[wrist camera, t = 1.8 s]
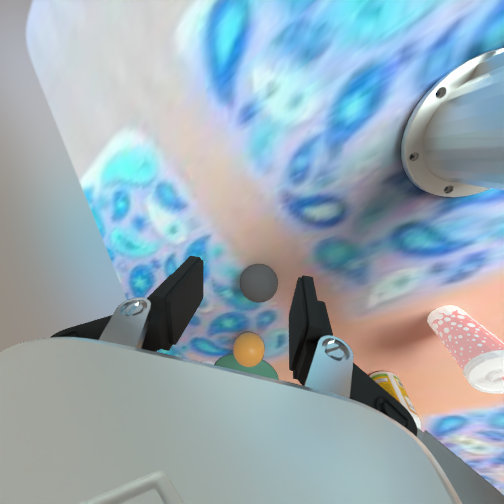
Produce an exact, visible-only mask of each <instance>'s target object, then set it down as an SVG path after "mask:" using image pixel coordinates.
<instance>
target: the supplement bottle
mask: <svg viewBox="0 0 504 504" xmlns="http://www.w3.org/2000/svg"><path fill="white" fill-rule="evenodd" d="M369 377H371V378H372V379H373V380H374V381H375V382H376V383H378V384H379V385H380V386H381V387H382V388H383V389H385V390H386V391H387V392H388V393H389V394H390V395H392V396H393V397H394V398H395V399H396V400H398V401H399V402H400V403H401V404H402V405H403V406H404V407H405V408H406V409H407V410H408V411H409V413H410V414H411V415H412V417H413V419H414V421H415V423H416V426H417V428H419V429H420V430H421V422H420V419H419V417H418V415H417V413H416V411H415V409H414V407H413V405H412V403H411V401H410V399H409V397H408V395H407V393H406V391H405V389H404V387H403V385H402V383H401V381H400V380H399V378H398V377H397V376H396V375H395V374H393V373H391V372H387V371H379V372H375V373H372V374H371V375H370V376H369Z"/></svg>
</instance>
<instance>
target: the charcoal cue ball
mask: <svg viewBox="0 0 504 504" xmlns="http://www.w3.org/2000/svg"><path fill="white" fill-rule="evenodd" d="M277 287H278V279H277V276H276V274H275V272H274V271H273V270H272V269H271V268H270V267H268V266H266V265H263V264H254V265H251V266H249V267H248V268H246V269H245V271H244V272H243V273H242V275H241V278H240V288H241V291H242V293H243V294H244V296H245V297H246V298H248V299H249V300H251V301H253V302H265V301H267V300H269V299H270V298H272V297H273V296H274V294H275V293H276V291H277Z"/></svg>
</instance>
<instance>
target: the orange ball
mask: <svg viewBox="0 0 504 504" xmlns="http://www.w3.org/2000/svg"><path fill="white" fill-rule="evenodd" d="M264 352H265V347H264V343H263V341H262V339H261V338H260V337H259V336H258V335H257V334H255V333H252V332H246V333H243V334H241V335H240V336H239V337H238V338H237V339H236V341H235V343H234V346H233V353H234V357H235V359H236V360H237V362H238V363H239V364H241V365H242V366H245V367H253V366H255V365H257V364H258V363H259V362H260V361H261V360H262V358H263V356H264Z"/></svg>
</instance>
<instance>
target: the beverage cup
mask: <svg viewBox="0 0 504 504" xmlns="http://www.w3.org/2000/svg"><path fill="white" fill-rule="evenodd" d="M427 322H428V323H429V325H430V326H431V328H432V329H433V331H434V332H435V333H436V335H437V336H438V337H439V339H440V340H441V341H442V343H443V344H444V346H445V347H446V348H447V350H448V351H449V352H450V354H451V355H452V356H453V358H454V359H455V361H456V362H457V363H458V365H459V366H460V367H461V369H462V370H463V374H464V376H465V378H466V379H467V380H468V382H469V383H470V385H471V386H472V387H474V388H475V389H477V390H479V391H482V392H487V393H504V342H503V341H502V340H501V339H500V338H498V337H497V336H496V335H494V334H493V333H492V332H490V331H489V330H488V329H487V328H485V327H484V326H483V325H481V324H480V323H479V322H477V321H476V320H475V319H474V318H472V317H471V316H470V315H468V314H467V313H466V312H464V311H463V310H462V309H460V308H458V307H457V306H451V305H448V306H442V307H439V308H436V309H435V310H433V311H432V312H431V313H430V314H429V316H428V320H427Z"/></svg>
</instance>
